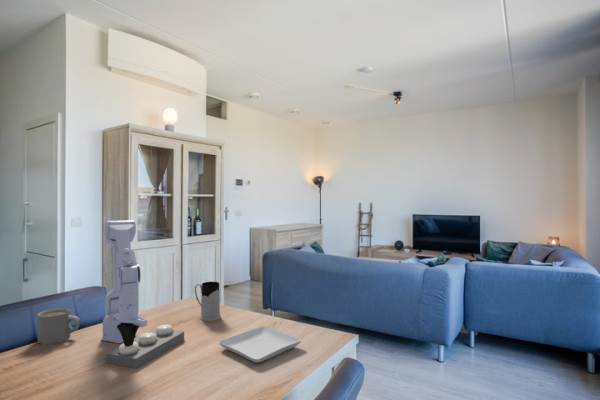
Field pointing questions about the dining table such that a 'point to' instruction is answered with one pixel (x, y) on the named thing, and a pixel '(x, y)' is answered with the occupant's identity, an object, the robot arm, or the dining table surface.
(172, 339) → the mount
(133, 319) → the robot arm
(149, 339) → the knob
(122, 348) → the knob
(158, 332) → the knob
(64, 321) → the coffee mug
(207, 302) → the grey black pitcher
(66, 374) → the dining table surface
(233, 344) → the salad plate
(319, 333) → the dining table surface
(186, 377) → the dining table surface
